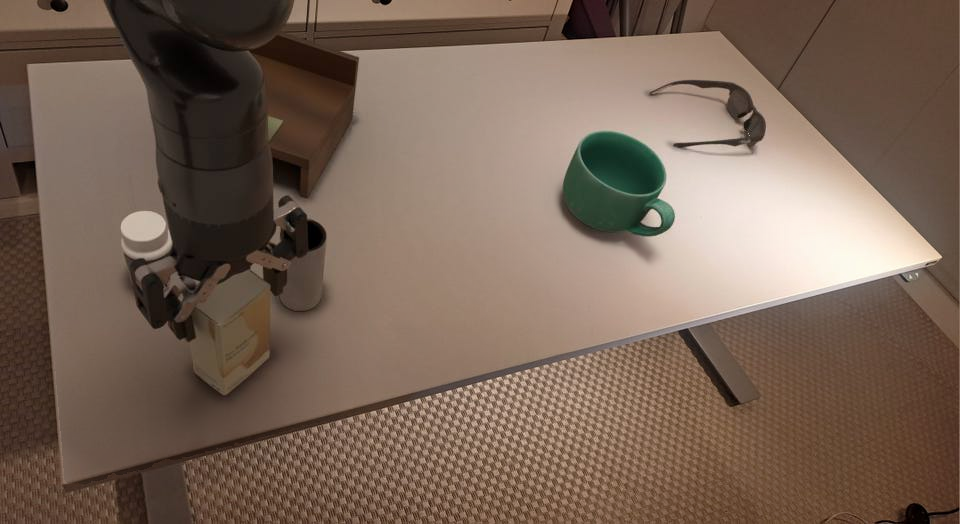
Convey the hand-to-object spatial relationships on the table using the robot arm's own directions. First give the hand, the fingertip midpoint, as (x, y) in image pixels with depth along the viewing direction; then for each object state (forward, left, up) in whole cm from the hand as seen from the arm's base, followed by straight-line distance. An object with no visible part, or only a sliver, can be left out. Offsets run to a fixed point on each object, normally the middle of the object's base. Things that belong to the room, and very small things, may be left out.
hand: (231, 310), depth 59 cm
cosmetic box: (0, 0, -10) cm, 10 cm away
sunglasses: (+87, -4, -10) cm, 87 cm away
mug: (+52, -9, -10) cm, 53 cm away
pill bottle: (-1, +14, -10) cm, 17 cm away
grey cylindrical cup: (+10, +3, -10) cm, 14 cm away
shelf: (+21, +28, -9) cm, 36 cm away
